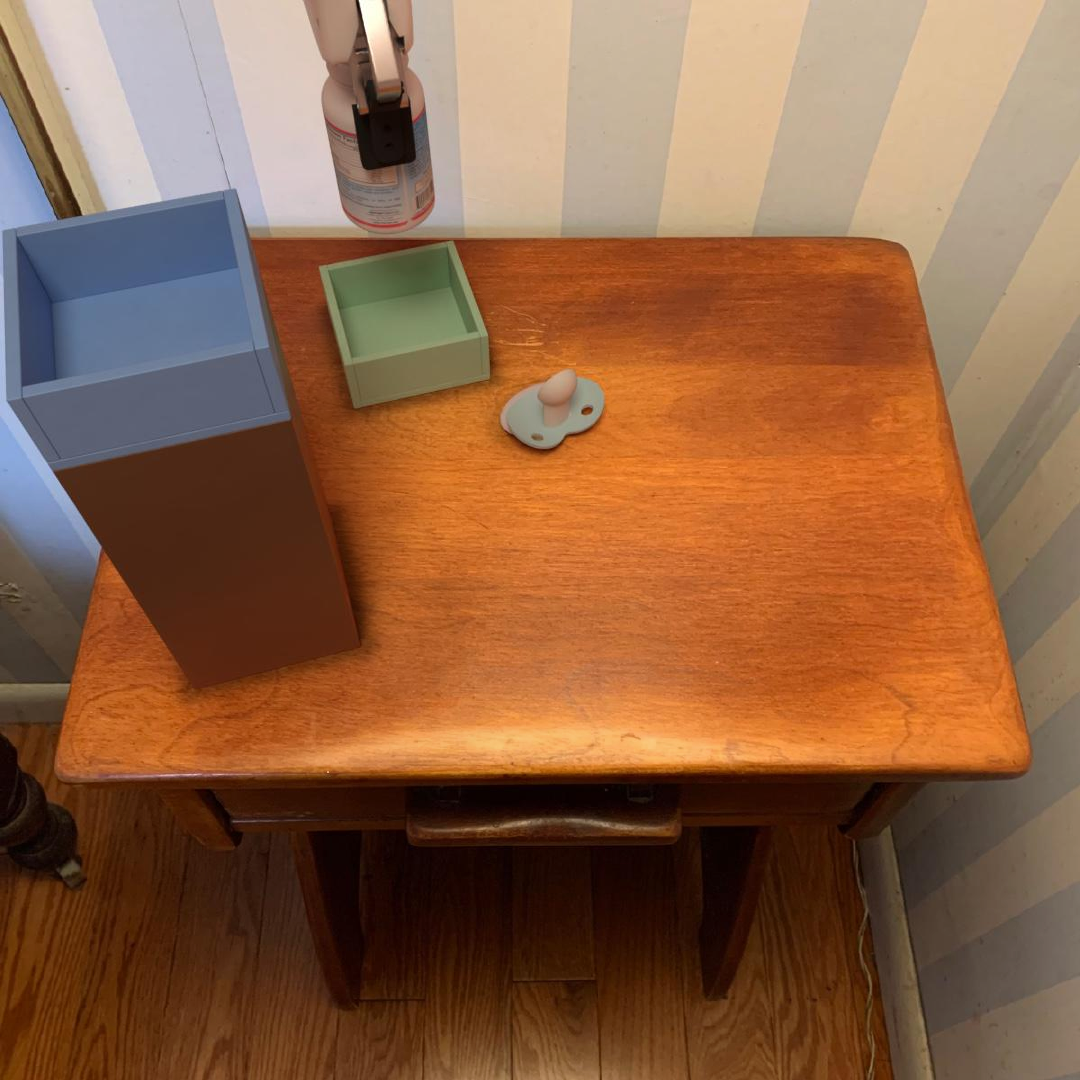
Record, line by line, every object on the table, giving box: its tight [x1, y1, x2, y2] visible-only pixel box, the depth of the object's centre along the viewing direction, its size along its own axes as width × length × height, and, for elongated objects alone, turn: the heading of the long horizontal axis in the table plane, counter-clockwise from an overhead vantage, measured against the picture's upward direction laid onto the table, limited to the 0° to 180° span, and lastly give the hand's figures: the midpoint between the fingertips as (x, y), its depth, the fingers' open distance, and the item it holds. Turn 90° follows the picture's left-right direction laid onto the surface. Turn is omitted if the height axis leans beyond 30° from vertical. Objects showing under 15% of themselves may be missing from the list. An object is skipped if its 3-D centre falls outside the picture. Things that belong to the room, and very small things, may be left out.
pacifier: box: [499, 368, 605, 450], centre depth 71 cm, size 7×6×6 cm
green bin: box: [318, 240, 491, 410], centre depth 76 cm, size 10×10×5 cm
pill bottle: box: [320, 37, 436, 235], centre depth 62 cm, size 6×6×11 cm
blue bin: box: [1, 187, 361, 690], centre depth 54 cm, size 10×10×27 cm
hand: (376, 126), depth 62 cm, fingers closed on pill bottle, 6 cm apart
